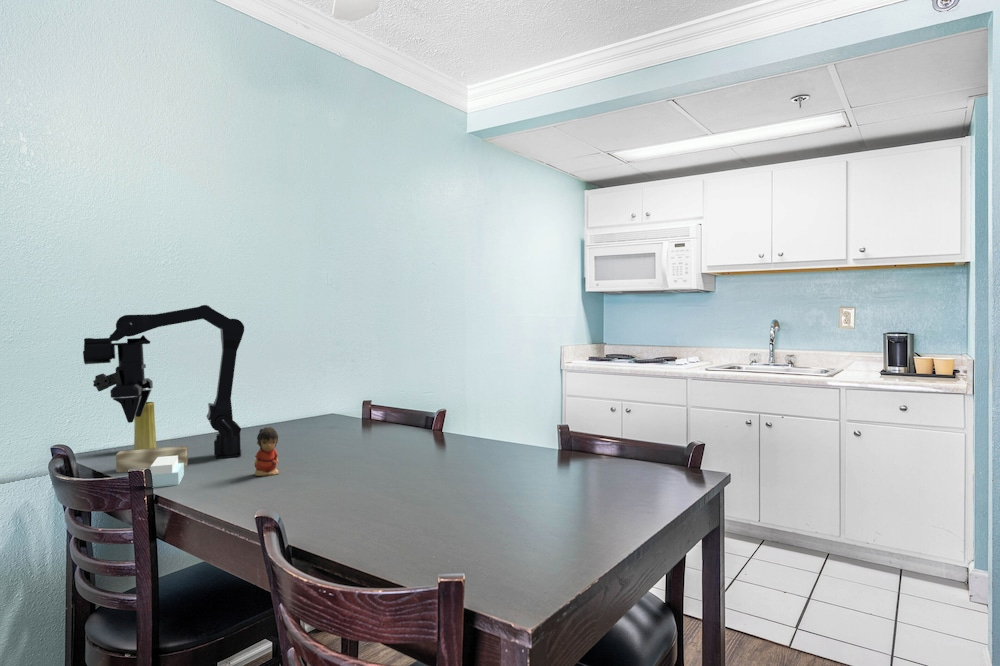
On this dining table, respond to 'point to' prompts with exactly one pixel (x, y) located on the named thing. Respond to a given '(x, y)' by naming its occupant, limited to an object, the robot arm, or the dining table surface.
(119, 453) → the beam
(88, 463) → the dining table surface
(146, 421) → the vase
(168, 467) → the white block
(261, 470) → the figurine
